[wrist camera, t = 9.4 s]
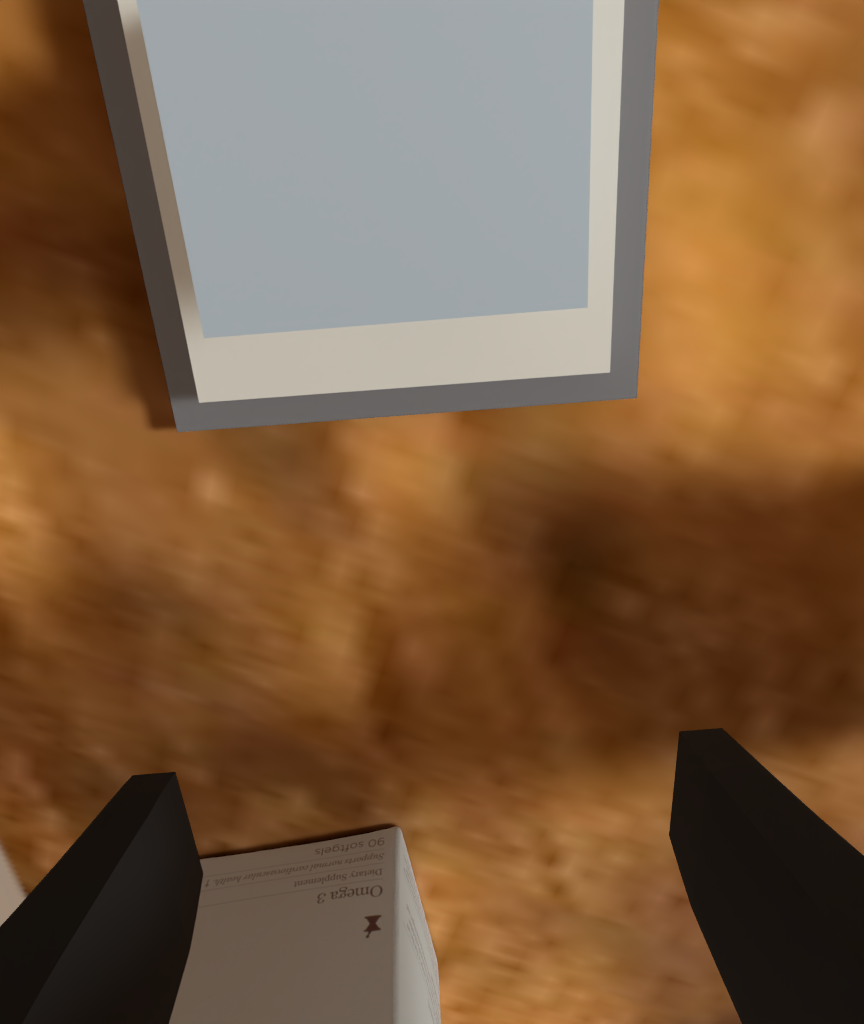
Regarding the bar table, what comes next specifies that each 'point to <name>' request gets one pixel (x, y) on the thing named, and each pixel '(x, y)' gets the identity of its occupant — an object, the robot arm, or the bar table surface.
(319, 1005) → the supplement box
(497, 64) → the carton
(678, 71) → the bar table surface
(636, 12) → the display podium
